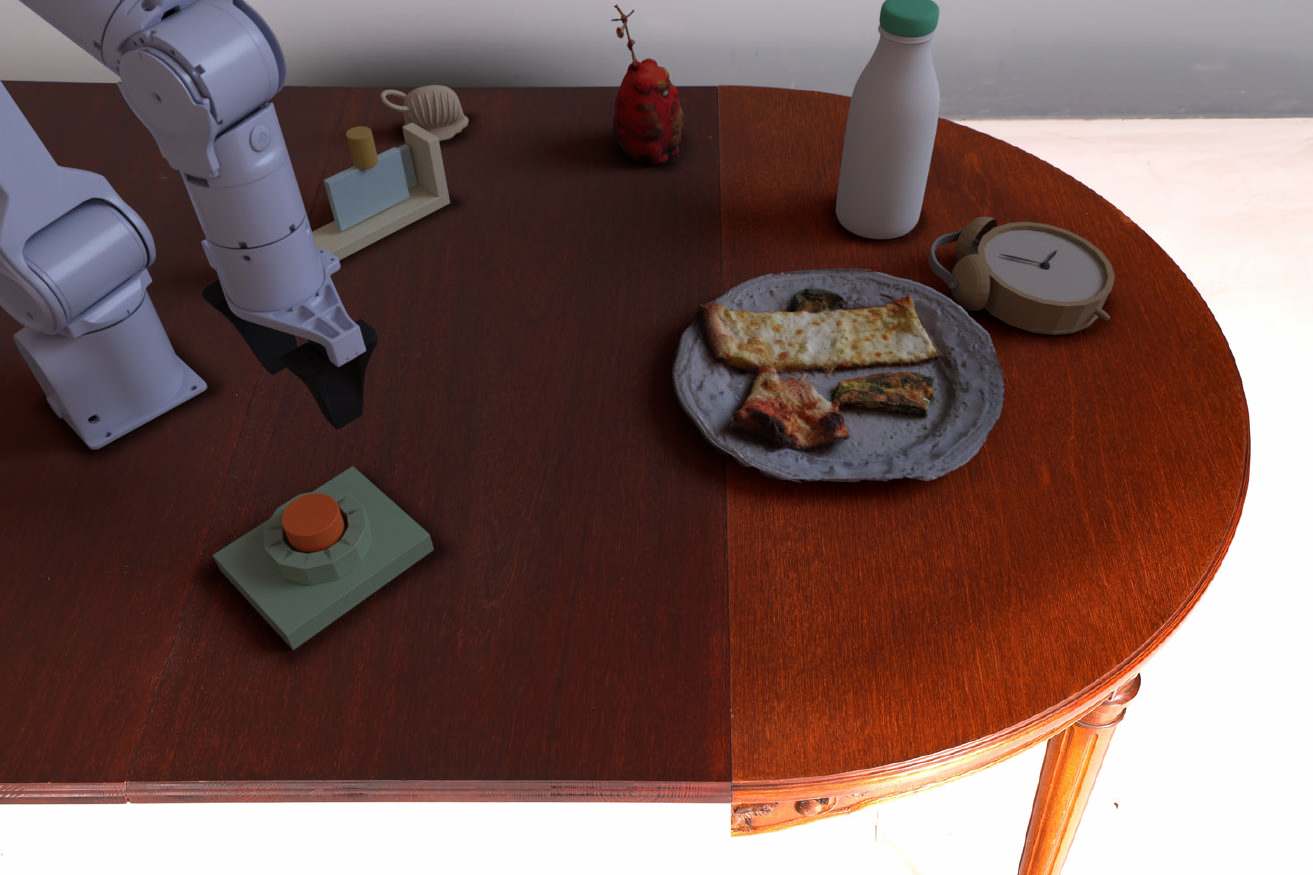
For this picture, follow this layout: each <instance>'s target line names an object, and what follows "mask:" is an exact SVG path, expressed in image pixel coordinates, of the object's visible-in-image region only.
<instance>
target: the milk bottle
mask: <svg viewBox="0 0 1313 875" xmlns="http://www.w3.org/2000/svg"><path fill="white" fill-rule="evenodd" d="M879 12H880V13H879V20H878V21H879V24H878V27H877V31H878V33H879V40H878V43H877V45H876V47H875V49H874V52H873V53H872V55H871V57H870V59H869V60H868V62H867V64H866V65H865V66H864V68H863V70H862V72H861V73H860V75H859V77H858V78H857V81H856V83H855V85H854V88H853V90H852V94H851V97H850V101H849V106H848V113H847V117H846V118H847V119H846V126H845V132H844V141H843V146H842V147H843V148H842V155H841V161H840V162H841V163H840V170H839V178H838V179H839V180H838V185H837V194H836V203H835V214H836V218H837V221H838V222H839V223H840V225H841V226H842V227H844V229H846V230H847V231H849V232H851V233H852V234H854V235H857V236H859V237H862V238H867V239H873V240H891V239H895V238H900V237H903V236H905V235H906V234H909V233H910V232H911V231H912V230H913V229H914V228H915V227H916V226H917V224H918V223H919V220H920V217H921V212H922V207H923V202H924V197H925V192H926V188H927V182H928V176H929V171H930V166H931V161H932V157H933V156H932V155H933V150H934V145H935V140H936V139H935V138H936V135H937V128H938V122H939V115H940V106H941V91H940V85H939V80H938V76H937V73H936V70H935V66H934V61H933V56H932V39H933V38H935V36H936V34H937V31H936V29H937V27H938V23H939V18H940V7H939V5H938V4H937V3H936V2H935V1H933V0H884V2H883V3H882V5H881V7H880V11H879Z"/></svg>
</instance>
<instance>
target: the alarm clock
mask: <svg viewBox="0 0 1313 875" xmlns="http://www.w3.org/2000/svg"><path fill="white" fill-rule="evenodd" d="M955 242H956V243H955ZM952 243H955V250H954V251H955V257H956V260H957V263H955V265H954V266H953V269H952V271H951V272H950V271H949V270H948V269H946V268H945V267H944V266H943V265H942V264H941V263H940V262H939V261H938V259H937V257H936V252H935V251H936V250H937V249H939V248H940V247H942V246H944V245H947V244H952ZM928 264H929V268H930V269H931V271H932V272H933V273H934V274H935V276H937V277H938V278H939V279H941V280H942V281H943V282H944V283H946V284H947V286H948V288H949V289H950V291H951V295H952V297H953V299H954V301H955V303H956V304H957V305H959V306H961V307H962V308H964V310H965V311H970V312H979V311H982V309H984V310H985V311H986V312H988V313H989V315H991V316H993V317H994V318H996V319H998V320H1000V321H1002V322H1004V323H1005V324H1007V325H1009V326H1012V327H1015V328H1018V329H1021V330H1024V331H1027V332H1029V333H1035V334H1042V335H1050V336H1057V335H1068V334H1075V333H1078V332H1080V331H1082V330H1084V329H1087V328H1089V327H1090V326H1091V325H1092V324H1093V323H1094V322H1095V321H1096V320H1097V319H1098V318H1099V319H1101V320H1104V321H1106V322H1108V321H1109V320H1110V319H1111V316H1110V315H1109V314H1108V313H1107V312H1106V311H1105V310H1104V309H1102V308H1103V307H1104V304H1105V303H1106V301H1107V298H1108V297H1109V294H1110V293H1111V292H1112V290H1113V286H1114V283H1115V280H1116V276H1115V272H1114V268H1113V264H1112V263H1111V262H1110V261H1109V259H1108V258H1107V256H1106V255H1105V254H1104V252H1103V250H1101V249H1099V248H1098V247H1097V246H1095V245H1094V244H1093V243H1092V242H1090V241H1089V240H1088V239H1086V238H1084V237H1082V236H1080V235H1078V234H1076V233H1074V232H1072V231H1070V230H1068V229H1064V228H1061V227H1058V226H1055V225H1051V224H1048V223H1039V222H1034V221H1033V222H1032V221H1019V222H1007V223H1005V224H1001V225H999V226H998V221H997V219H996V218H993V217H990V216H980V217H977V218H974V219H973V220H971V221H970V222H969V223H967V225H966V226H964V228H958V229H957V231H956V232H949V233H945V234H943V235H940V236H938V237H937V238H936V239H935V240H934V241H933V243H932V245H931V248H930V251H929V254H928Z"/></svg>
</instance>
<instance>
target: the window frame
mask: <svg viewBox="0 0 1313 875" xmlns="http://www.w3.org/2000/svg"><path fill="white" fill-rule="evenodd" d="M403 126H404V125H403ZM403 126H402V133H403V137H404V142H405V143H404V144H402V145H400V146H399V145H398V147H396V148H397V149H399V150H400V154H401V159H402V163H403V168H404V173H405V178H406V182H407V187H408V192H409V196H410V197H409V198H407V199H405V200H403V201H401V202H399V203H397V204H395V205H393V206H391V207H389V208H387V209H385V210H383V211H381V212H379V213H377V214H375V215H373V216H371V217H369V218H367V219H365V220H363V221H361V222H359V223H357V224H355V225H353V226H351V227H349V228H347V229H345V230H343V231H340V230H339V229H337V227H336V224H335V220H333V221H331V222H329V223H327V224H324V225H323V226H321V227H319V228H317V229H315V230H313V231H312V234H313V237H314V241H315V244H316V247H317V249H326V250H328V251H329V252H331V253H332V254H334V255H335V256H337V257H338V259H339V261H341V260H343V259H345V258H347V257H349V256H351V255H353V254H355V253H356V252H358V251H360V250H363V249H365V248H366V247H369V246H370V245H372V244H374V243H376V242H378V241H379V240H382V239H384V238H386V237H387V236H390V235H392V234H393V233H396V232H397V231H400V230H401V229H403V228H405V227H407V226H409V225H411V224H412V223H415V222H417V221H419V220H421V219H422V218H424V217H427V216H429V215H430V214H432V213H434V212H436V211H438V210H440V209H441V208H444V207H445V206H448V205H449V204H451V200H450V193H449V189H448V185H447V184H448V183H447V178H446V172H445V167H444V166H445V165H444V162H443V156H442V150H441V145H440V141H439V139H438V137H436V136H435V135H433V134H431V133H429V132H428V131H426V130H424V129H422V128H421V127H419V126H417V125H416V124H414V123H410V124H408V125H406V126H404V127H403Z"/></svg>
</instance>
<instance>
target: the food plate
mask: <svg viewBox="0 0 1313 875" xmlns="http://www.w3.org/2000/svg"><path fill="white" fill-rule="evenodd" d="M677 342H678V344H677V346H676V348H675V351H674V358H673V364H672V370H671V373H672V374H671V384H672V385H671V387H672V389H673V394H674V396H673V397H674V399H675V401H676V402H677V405H678V406H679V408H680V409H681V411H682V413H683V414H684V415H685V416H686V417H687V418H688V420H689V421H691V423H692V424H693V425H694V427H695V428H696V429H697V431H698V432H699V434H700V435H701V438H702V440H703V441H704V443H705V444H707V445H709V446H711V447H712V448H713V449H714V450H715V452H718V453H720V454H722V455H723V456H724V455H725V457H726V459H725V462H729V461H730V458H729V457H730V456H729V455H731V456H732V458H733V460H734V461H735V462H736V463H737V465H739V466H741V467H743V468H746V467H754V468H756V469H758V470H759V473H760V474H761V475H762V476H764V477H765V478H770V479H775V480H776V479H777V480H780V481H782V480H785V481H792V482H797V483H803V482H801V481H800V480H804V481H805V482H807V481H808V482H814V481H815V482H819V481H821V482H824V483H825V482H833V483H835V482H842V483H845V482H847V483H858V482H860V481H870V482H871V481H877V482H879V481H883V482H887V481H891V480H896V479H897V480H898V479H899V480H900V479H904V478H908V479H914V480H915V479H916V480H920V481H924V482H925V481H926V482H929V481H932V480H935V479H938V478H939V477H940V478H941V477H944V476H945V475H947V474H949V473H950V472H951V473H952V472H954V471H955V470H958V469H959V468H960V467H963V466H965V465H966V464H967V463H968V462H969V461H970V460H971V459H972V458H974V456H977V454H978V453H979V452H980V449H981V448H982V446H984V444H985V442H986V441H987V439H988V438H987V437H988V436H989V433H990V431H992V430H993V428H994V426H995V424H996V423H997V421H998V420H999V419H1000V418H1001V414H1002V409H1003V408H1004V407H1003V405H1004V404H1003V403H1004V400H1005V399H1004V398H1005V397H1004V395H1005V389H1006V386H1007V385H1006V384H1005V383H1006V382H1005V383H1004V381H1005V380H1004V379H1005V376H1004V373H1003V372H1004V371H1003V369H1002V366H1001V363H1000V362H999V357H998V355H997V352H996V349H995V346H994V344H993V343H994V342H993V340H992V338H991V334H990V333H989V332H988V330H986V329H985V328H984V327H983V326H982V325H981V324H980V323H978V322H977V321H976V320H975V319H974V318H972V317H971V316H970V315H969V314H968V312H967V310H966V309H964V308H962V307H961V306H959V305H958V303H956V302H954V301H953V300H952V299H951V298H949V297H948V296H946V295H945V294H943V293H941V292H939V291H937V290H936V289H935V288H932V287H930V286H927V285H924V284H922V283H920V282H918V281H914V280H912V279H908V278H902V277H897V276H893V275H890V274H887V273H884V272H880V271H877V270H875V269H873V271H871V269H869V268H860V267H855V268H854V267H851V268H847V267H840V268H839V267H837V268H820V269H806V270H803V269H802V270H791V271H783V272H779V273H778V274H776V272H773V273H767V274H764V275H759V276H757V277H753V278H750V279H747V280H745V281H742V282H741V283H738V284H737V285H735V286H732V287H731V288H729V289H728V290H727V291H725V292H724V293H722V295H720V296H719V297H715V299H713V300H711V301H710V302H709V301H707V303H704V304H702V303H700V304H699V305H698V307H697V311H696V312H695V315H694V316H693V318H692V321H691V322H690V323H689V325H688V326H686V328H685V329H684V330H683V331H682V332H681V334H680V336H679V337H678V341H677Z"/></svg>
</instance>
